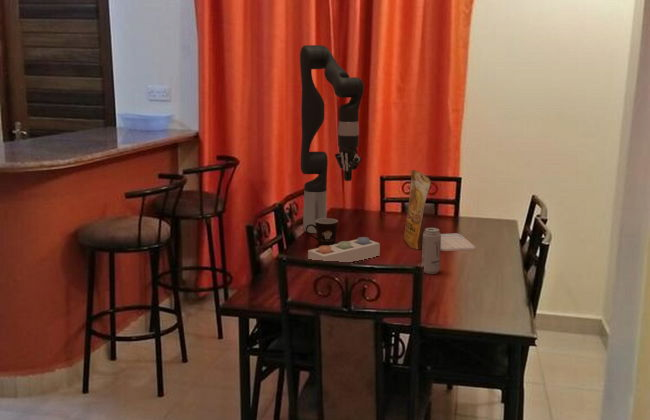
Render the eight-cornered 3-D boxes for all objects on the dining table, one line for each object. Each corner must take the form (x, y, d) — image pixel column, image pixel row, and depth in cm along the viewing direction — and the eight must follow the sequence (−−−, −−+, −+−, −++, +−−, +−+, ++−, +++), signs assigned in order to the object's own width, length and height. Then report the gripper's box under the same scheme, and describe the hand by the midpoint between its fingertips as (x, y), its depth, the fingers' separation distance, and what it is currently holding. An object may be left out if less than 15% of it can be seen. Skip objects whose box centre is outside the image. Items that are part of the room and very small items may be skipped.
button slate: (354, 246, 250) (354, 238, 249) (363, 244, 252) (363, 236, 252) (362, 248, 246) (362, 240, 246) (371, 246, 249) (371, 238, 248)
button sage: (335, 250, 244) (336, 242, 244) (345, 248, 247) (345, 240, 246) (343, 253, 241) (343, 245, 240) (353, 251, 244) (353, 243, 243)
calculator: (442, 252, 256) (442, 247, 256) (427, 238, 275) (427, 233, 275) (476, 251, 258) (476, 246, 257) (459, 236, 277) (459, 232, 276)
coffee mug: (340, 244, 264) (340, 219, 262) (333, 250, 257) (333, 224, 254) (312, 241, 268) (312, 216, 266) (304, 247, 260) (304, 222, 258)
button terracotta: (316, 255, 239) (316, 246, 238) (325, 252, 242) (325, 244, 241) (323, 258, 236) (323, 249, 235) (333, 255, 238) (333, 247, 238)
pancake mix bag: (416, 236, 275) (419, 168, 268) (429, 250, 256) (432, 177, 250) (400, 237, 274) (402, 169, 267) (412, 251, 256) (414, 178, 249)
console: (308, 263, 240) (308, 250, 239) (363, 250, 256) (363, 237, 255) (323, 270, 234) (323, 256, 232) (379, 256, 249) (379, 243, 248)
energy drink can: (435, 275, 229) (436, 232, 225) (418, 272, 232) (420, 230, 228) (442, 270, 234) (443, 228, 230) (425, 267, 237) (427, 226, 233)
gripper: (328, 132, 248) (328, 179, 252) (352, 136, 238) (351, 184, 242) (344, 131, 253) (344, 176, 257) (368, 134, 243) (367, 182, 247)
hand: (347, 180), depth 249 cm, fingers closed
